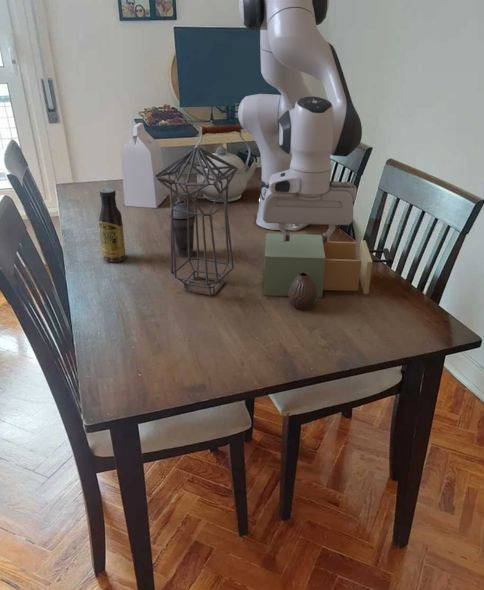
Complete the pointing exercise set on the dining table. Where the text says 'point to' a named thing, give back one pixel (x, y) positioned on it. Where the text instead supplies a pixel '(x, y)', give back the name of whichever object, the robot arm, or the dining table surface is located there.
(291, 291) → the vase
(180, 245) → the beverage cup
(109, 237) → the sauce bottle
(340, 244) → the drawer
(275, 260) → the cabinet
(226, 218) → the geometric lantern
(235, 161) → the kettle
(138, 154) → the milk
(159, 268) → the dining table surface
